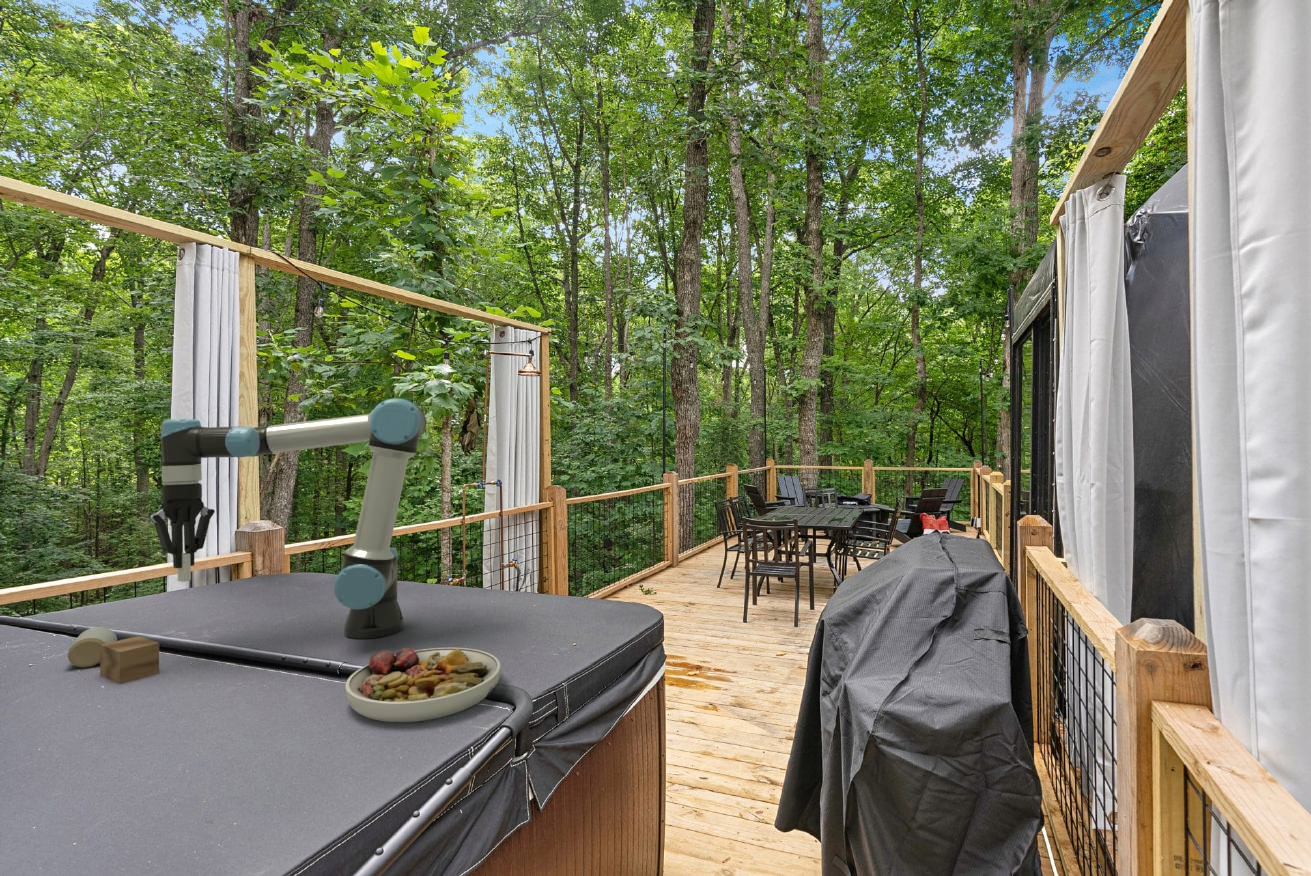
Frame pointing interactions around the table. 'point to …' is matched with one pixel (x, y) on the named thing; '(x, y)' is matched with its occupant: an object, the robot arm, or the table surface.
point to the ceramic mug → (90, 646)
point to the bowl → (421, 683)
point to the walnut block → (129, 659)
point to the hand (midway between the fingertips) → (184, 580)
